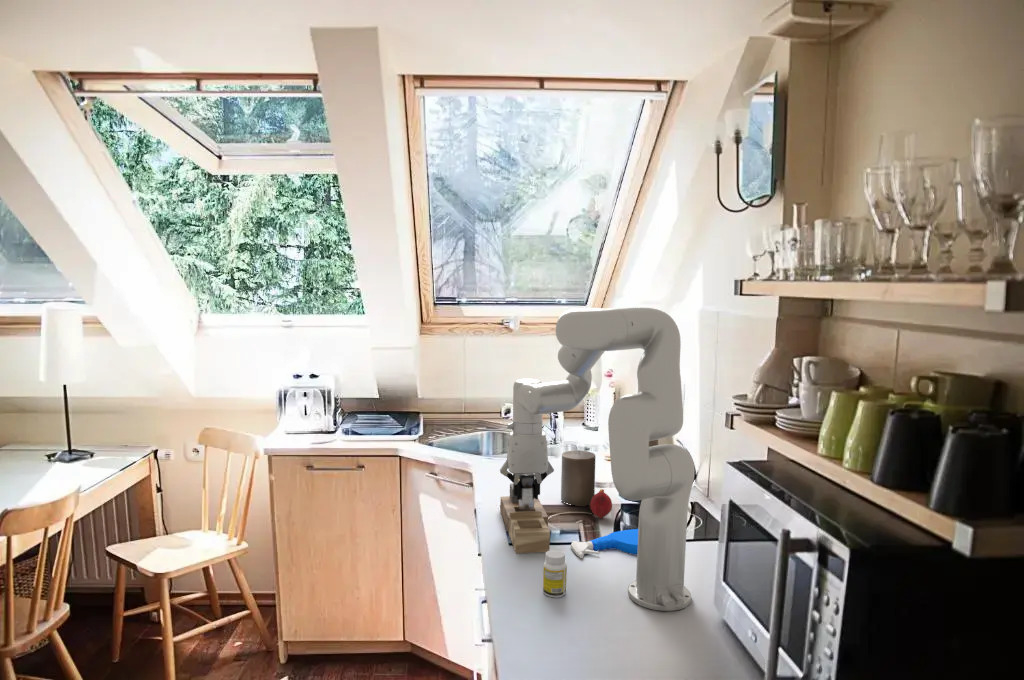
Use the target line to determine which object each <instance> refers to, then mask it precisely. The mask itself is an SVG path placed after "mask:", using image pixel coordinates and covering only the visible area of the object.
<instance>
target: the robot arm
mask: <svg viewBox="0 0 1024 680" xmlns="http://www.w3.org/2000/svg"><path fill="white" fill-rule="evenodd" d="M555 337H556V339H557V341H558V343H559V344H560V345H561V347H560V348H559V350H558V352H557V359H558V362H559V364H560V366H561V368H562V369H563V370H564V371H565V372H567V373H568V376H567V377H566V378H565V379H564V380H561V381H560V380H559V381H550V382H549V381H548V382H542V381H540V380H539V379H534V378H521V379H517V380H515V381H514V382H513V386H512V387H513V388H512V389H513V390H512V391H513V392H512V393H513V395H512V422H511V423H507V424H506V428H507V430H511V432H510V433H509V439H508V444H507V453H506V459H505V462H504V463H503V465H502V466H501V468H500V469H499V472H500V474H501V475H503V476H504V477H506V478H508V479H509V481H511V483H512V484H513V495H514V496H516V499H517V500H519V499H520V484H519V477H520V474H535V492H534V498H535V499H539V496H540V495H541V485H542V482H543V481H544V480H545V479H546V478H547V477H548V476H549V475H551V474H552V473H553V472H554V471H555V469H554V468H553V466H552V464H551V463H550V461H549V453H548V441H547V436H546V435H547V434H546V433H545V432H544V431H543V415H549V414H554V413H559V412H561V413H562V412H563V413H564V412H568V411H572V410H573V409H575V408H576V407H578V406H579V404H580V403H582V402H583V400H584V399H585V397H586V396H587V394H588V393H589V392H590V390H591V387H592V381H593V380H592V379H593V377H592V376H593V374H592V371H591V370H592V368H593V367H594V366H595V364H596V363H597V362H598V360H599V359H600V358H601V357H602V355H603V354H604V353H605V352H614V351H625V350H637V349H641V350H643V353H642V355H641V357H640V359H639V362H638V365H637V369H636V378H637V393H632V394H631V393H630V394H626V395H622V396H620V397H619V398H618V399H616V400H615V401H614V403H613V404H612V406H611V408H610V411H609V414H608V422H607V423H608V424H607V426H608V427H607V428H608V441H609V443H608V444H609V457H610V459H609V460H610V471H611V477H612V482H613V485H614V487H615V490H616V491H617V492H618V493H619V495H620V496H621V497H622V498H624V499H625V500H628V501H632V502H638V501H641V502H640V505H639V510H638V511H639V512H638V528H637V529H638V549H637V555H636V557H637V558H636V576H635V577H636V578H635V580H633V581H632V582H631V583H629V585H628V587H627V594H628V597H629V598H630V599H631V600H632V601H633V602H634V603H636V604H637V605H638V606H641V607H643V608H647V609H650V610H654V611H662V612H663V611H664V612H673V611H679V610H683V609H684V608H686V607H688V606H689V605H690V604H691V600H692V593H691V591H690V590H689V589H688V588H687V587H686V586H685V585H684V584H685V568H686V566H685V564H686V550H687V549H686V548H687V547H686V546H687V545H686V544H687V543H686V542H687V528H688V527H687V526H688V512H689V511H688V510H689V503H690V502H689V501H690V497H691V493H692V489H693V484H694V479H695V471H696V470H695V463H694V460H693V457H692V455H691V454H690V452H689V451H688V450H687V449H685V447H682V446H680V445H678V444H675V443H673V444H672V443H663V444H657V445H653V446H650V444H649V443H650V442H651V441H656V440H657V441H658V440H663V439H667V438H670V437H673V436H676V435H677V434H679V433H680V431H681V430H682V428H683V424H684V408H683V407H684V406H683V405H684V404H683V393H682V392H683V390H682V378H681V343H682V342H681V334H680V330H679V327H678V325H677V323H676V321H675V320H674V319H673V317H672V316H670V315H669V314H668V313H666V312H665V311H662V310H660V309H657V308H653V307H627V308H625V307H624V308H621V307H620V308H619V307H618V308H602V307H591V308H589V307H587V308H570V309H568V310H565V311H564V312H563V313H561V315H560V316H559V318H558V319H557V321H556V324H555Z"/></svg>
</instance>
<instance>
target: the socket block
mask: <svg viewBox="0 0 1024 680" xmlns="http://www.w3.org/2000/svg"><path fill="white" fill-rule="evenodd" d="M499 502H500V505H499V507H500V510H499V511H500V514H501V517H502V519H503V522H504V525H505V528H506V531H507V533H508V534H509V517H510V512H517V511H519V500H517V499H516V496H514V495H513V483H509V496H500V501H499ZM534 511H542V517H543V519H544V521H545V523H546V525H547V527H548V528H549V516H548V514H547V512H546V510H545V508H544V506H543V505H542V503H541V500H540V499H539V498H538V499H535V498H534Z"/></svg>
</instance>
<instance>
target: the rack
mask: <svg viewBox="0 0 1024 680" xmlns="http://www.w3.org/2000/svg"><path fill="white" fill-rule="evenodd" d="M508 536H509V539H510V538H511V539H510V541H512V542H511V545H512V546H513V549H514V553H515V552H516V553H515V554H531V553H532V554H533V553H546V552H547V551H549V550H551V548H550V545H551V543H550V540H551V539H550V538H551V531H550V528H549V526H548V527H547V525H546V523H545V521H544V519H543V517H542V511H517V512H510V517H509V533H508Z"/></svg>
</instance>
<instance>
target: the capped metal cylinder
mask: <svg viewBox="0 0 1024 680" xmlns="http://www.w3.org/2000/svg"><path fill="white" fill-rule="evenodd" d="M519 484H520V499H519V511H534V492H535V474H520V477H519Z"/></svg>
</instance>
